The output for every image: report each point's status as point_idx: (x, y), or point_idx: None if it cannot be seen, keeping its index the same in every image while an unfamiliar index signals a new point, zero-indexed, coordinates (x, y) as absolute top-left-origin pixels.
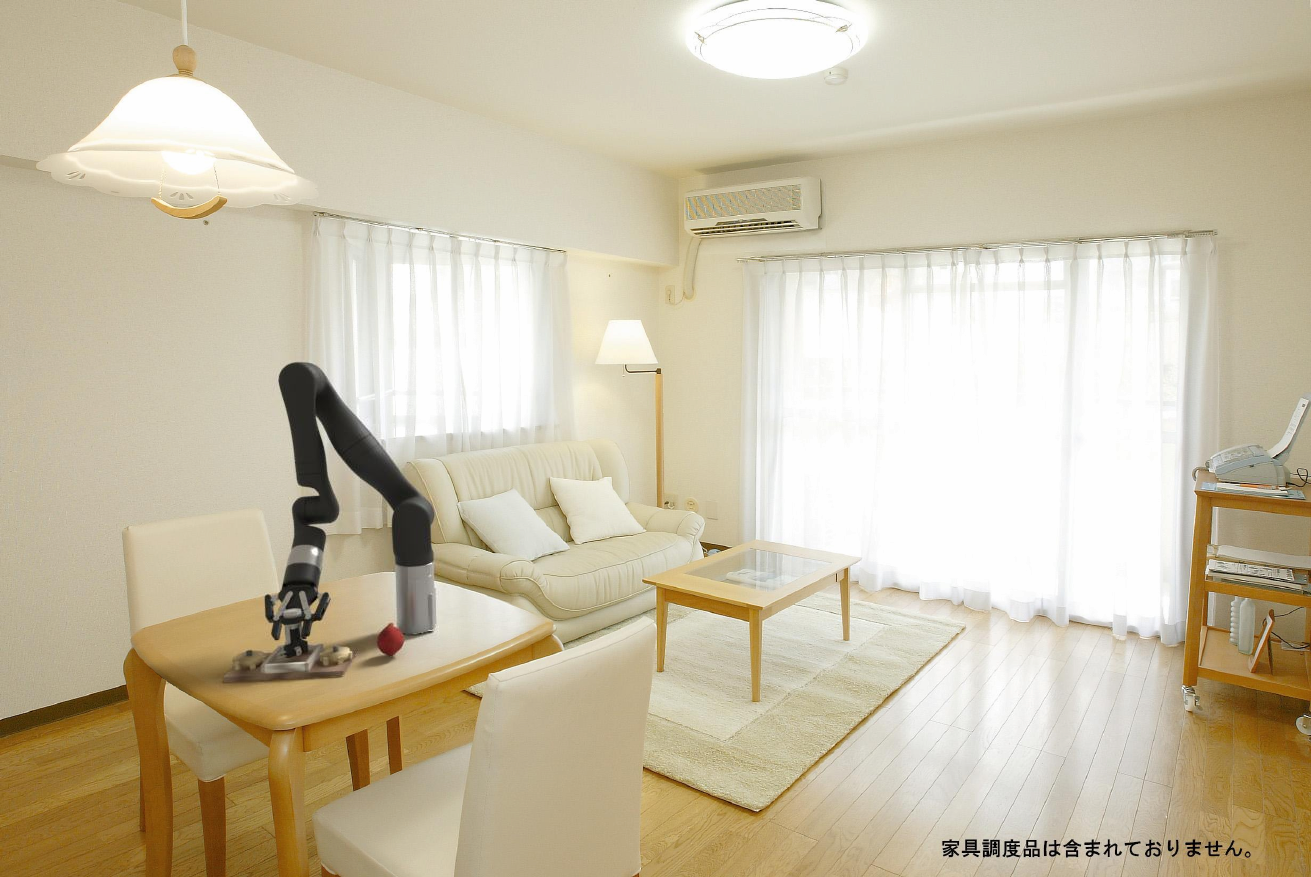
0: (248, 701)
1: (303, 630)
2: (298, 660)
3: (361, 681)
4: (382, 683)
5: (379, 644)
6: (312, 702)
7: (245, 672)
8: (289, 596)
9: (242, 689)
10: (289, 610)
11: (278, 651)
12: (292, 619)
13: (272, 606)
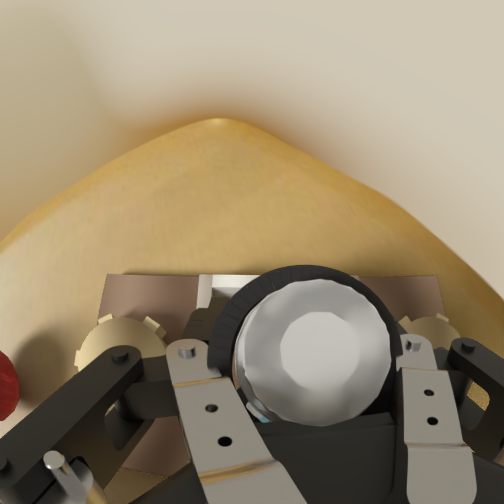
0: (315, 177)
1: (217, 306)
2: None
3: (78, 243)
4: (45, 228)
5: (3, 360)
6: (175, 160)
7: (399, 301)
8: (428, 461)
9: (363, 237)
10: (345, 350)
11: None
12: (281, 273)
13: (498, 442)
